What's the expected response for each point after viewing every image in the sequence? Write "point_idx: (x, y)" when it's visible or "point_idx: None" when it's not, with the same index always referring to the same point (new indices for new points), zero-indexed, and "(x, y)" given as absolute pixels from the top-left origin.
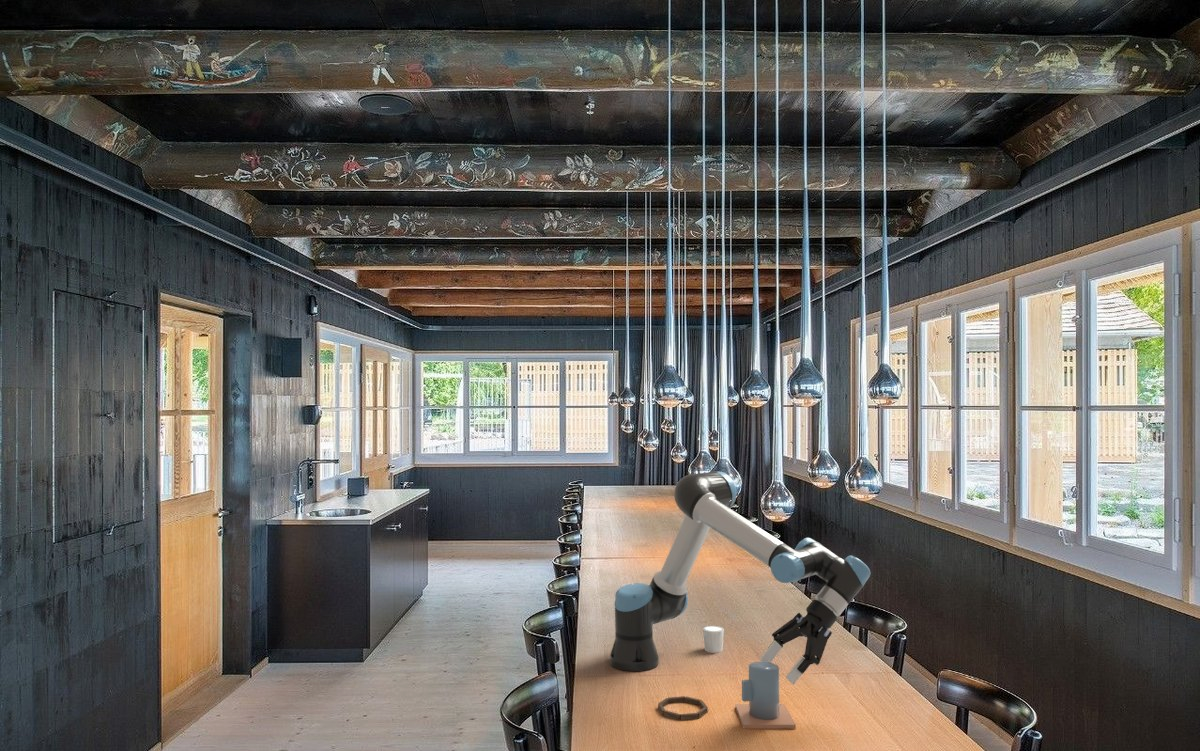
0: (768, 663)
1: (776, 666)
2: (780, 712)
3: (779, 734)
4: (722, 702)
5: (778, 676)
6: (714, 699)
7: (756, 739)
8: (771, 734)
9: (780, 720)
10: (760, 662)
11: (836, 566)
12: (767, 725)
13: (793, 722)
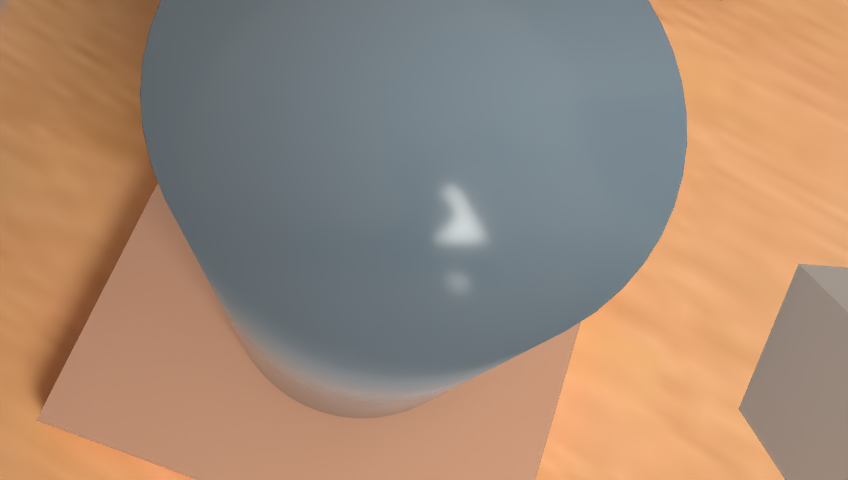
0: (556, 259)
1: (352, 311)
2: (337, 438)
3: (21, 226)
4: (734, 149)
5: (225, 298)
6: (799, 125)
7: (32, 22)
8: (53, 168)
9: (179, 336)
10: (649, 159)
11: None
12: (158, 190)
13: (88, 428)
